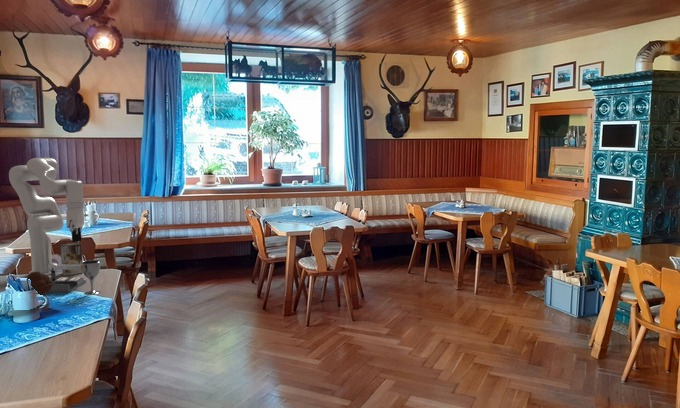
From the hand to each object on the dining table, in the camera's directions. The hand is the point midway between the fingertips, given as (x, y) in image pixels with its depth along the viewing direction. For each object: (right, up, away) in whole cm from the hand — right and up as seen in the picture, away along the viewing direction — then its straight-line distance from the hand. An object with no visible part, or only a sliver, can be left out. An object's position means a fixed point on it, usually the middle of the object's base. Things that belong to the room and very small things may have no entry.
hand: (76, 241), depth 263 cm
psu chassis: (-3, -22, -8) cm, 24 cm away
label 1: (-5, -19, -5) cm, 20 cm away
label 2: (+1, -19, -5) cm, 19 cm away
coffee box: (-12, -19, +19) cm, 30 cm away
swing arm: (-2, -14, -6) cm, 15 cm away
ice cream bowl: (+1, -26, -34) cm, 43 cm away
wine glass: (+15, -24, -16) cm, 32 cm away
